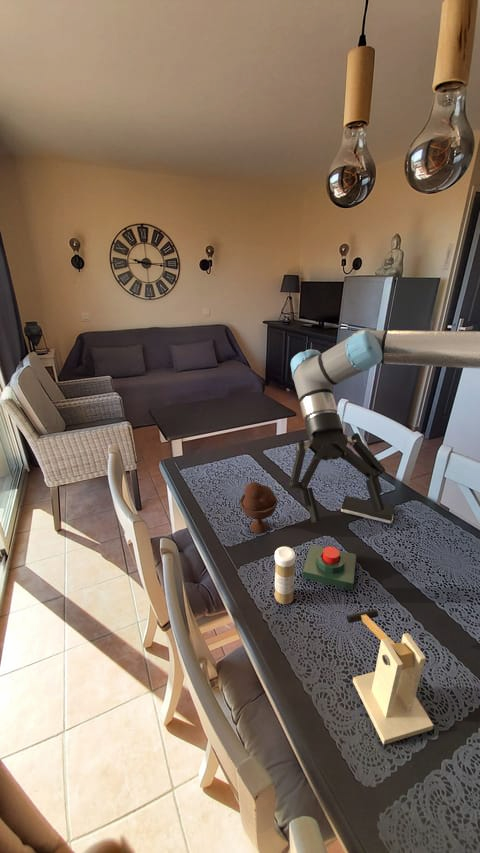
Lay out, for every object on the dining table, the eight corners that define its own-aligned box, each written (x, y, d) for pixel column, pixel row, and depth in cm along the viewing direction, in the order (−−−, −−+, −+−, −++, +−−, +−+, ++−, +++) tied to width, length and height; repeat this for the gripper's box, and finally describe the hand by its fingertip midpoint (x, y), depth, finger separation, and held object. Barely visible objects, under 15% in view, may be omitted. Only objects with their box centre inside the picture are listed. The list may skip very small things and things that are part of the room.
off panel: (355, 560, 94) (357, 549, 93) (352, 590, 86) (354, 578, 84) (309, 550, 98) (310, 539, 96) (302, 578, 90) (303, 565, 88)
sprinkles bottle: (282, 586, 87) (283, 542, 82) (297, 596, 84) (299, 552, 79) (270, 597, 85) (270, 553, 79) (285, 609, 82) (286, 563, 76)
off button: (339, 554, 91) (340, 548, 91) (338, 566, 88) (338, 559, 87) (323, 551, 93) (324, 545, 92) (321, 562, 89) (321, 555, 88)
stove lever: (347, 623, 70) (346, 611, 70) (375, 617, 71) (374, 605, 71) (390, 673, 56) (389, 658, 56) (424, 664, 57) (423, 649, 57)
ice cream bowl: (247, 543, 101) (246, 499, 95) (236, 519, 111) (235, 477, 105) (282, 535, 104) (283, 491, 98) (269, 512, 114) (269, 471, 108)
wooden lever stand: (352, 681, 67) (361, 626, 61) (395, 669, 69) (408, 615, 63) (383, 744, 58) (396, 687, 52) (432, 729, 60) (450, 672, 54)
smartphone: (392, 521, 106) (340, 509, 112) (391, 524, 107) (340, 512, 113) (394, 506, 113) (345, 495, 119) (393, 509, 114) (344, 498, 119)
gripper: (365, 417, 84) (395, 509, 77) (262, 430, 80) (283, 528, 72) (381, 404, 77) (415, 503, 70) (269, 417, 73) (293, 524, 65)
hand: (348, 516), depth 71 cm, fingers open, 13 cm apart
